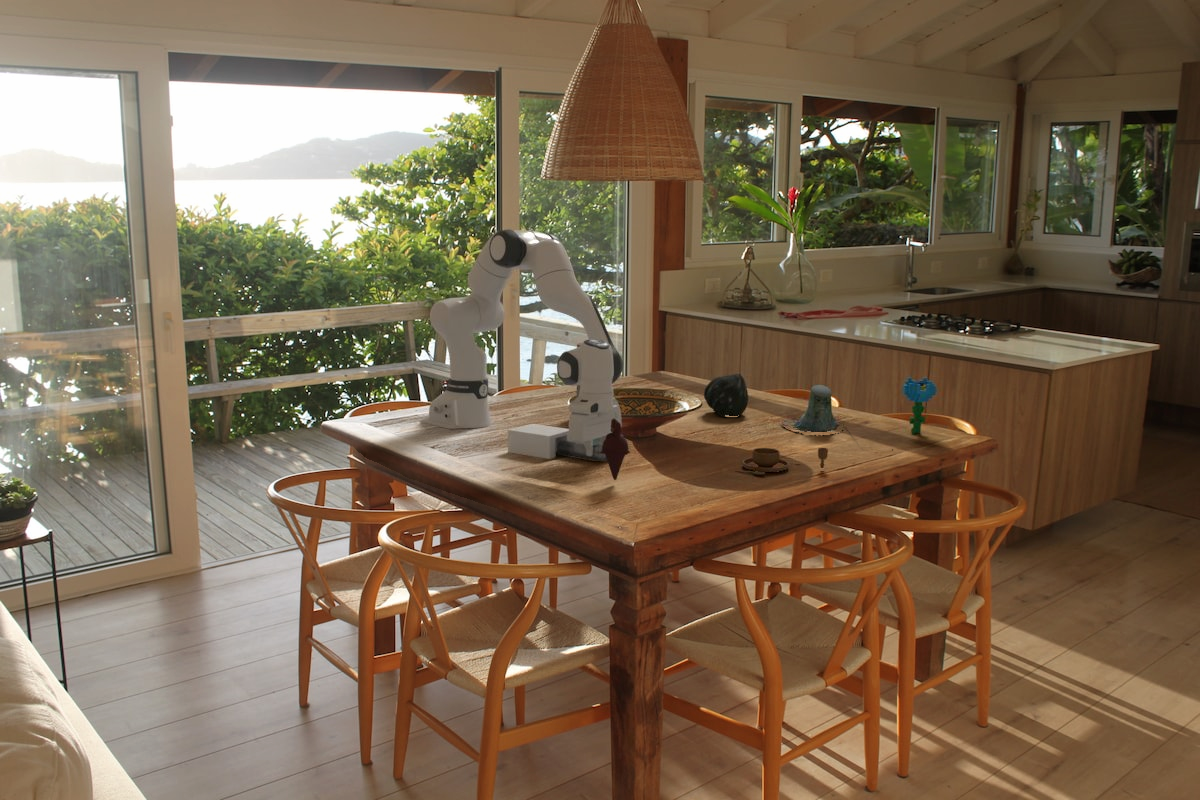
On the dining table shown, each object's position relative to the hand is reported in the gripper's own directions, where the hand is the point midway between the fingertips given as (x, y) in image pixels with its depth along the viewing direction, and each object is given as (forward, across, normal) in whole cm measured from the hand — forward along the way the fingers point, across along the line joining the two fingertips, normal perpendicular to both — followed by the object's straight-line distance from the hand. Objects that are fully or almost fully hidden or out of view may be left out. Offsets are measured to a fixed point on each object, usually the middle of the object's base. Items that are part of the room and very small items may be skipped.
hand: (596, 453), depth 272 cm
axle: (+2, 0, -4) cm, 4 cm away
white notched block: (+2, 0, -18) cm, 18 cm away
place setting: (+3, -21, +43) cm, 48 cm away
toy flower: (+2, -79, +61) cm, 100 cm away
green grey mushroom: (+5, -73, +30) cm, 79 cm away
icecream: (+2, +14, +15) cm, 20 cm away
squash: (+2, -73, +2) cm, 73 cm away
